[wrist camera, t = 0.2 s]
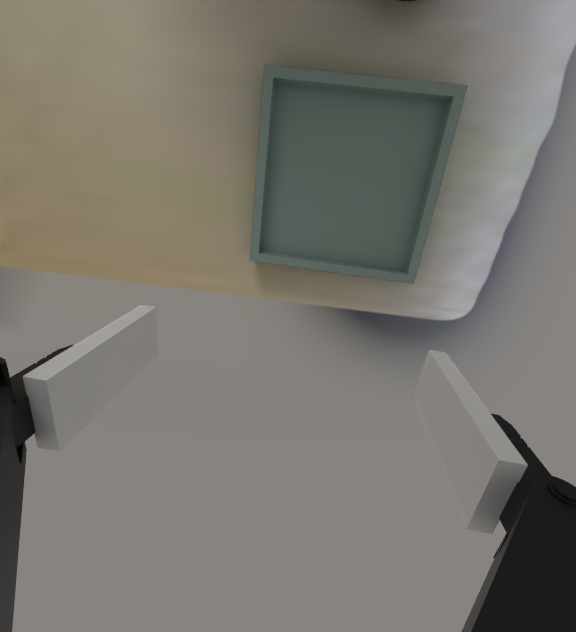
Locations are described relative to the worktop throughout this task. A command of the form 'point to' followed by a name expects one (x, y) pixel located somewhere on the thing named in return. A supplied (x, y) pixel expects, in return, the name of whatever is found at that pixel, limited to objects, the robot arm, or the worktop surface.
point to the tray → (349, 170)
